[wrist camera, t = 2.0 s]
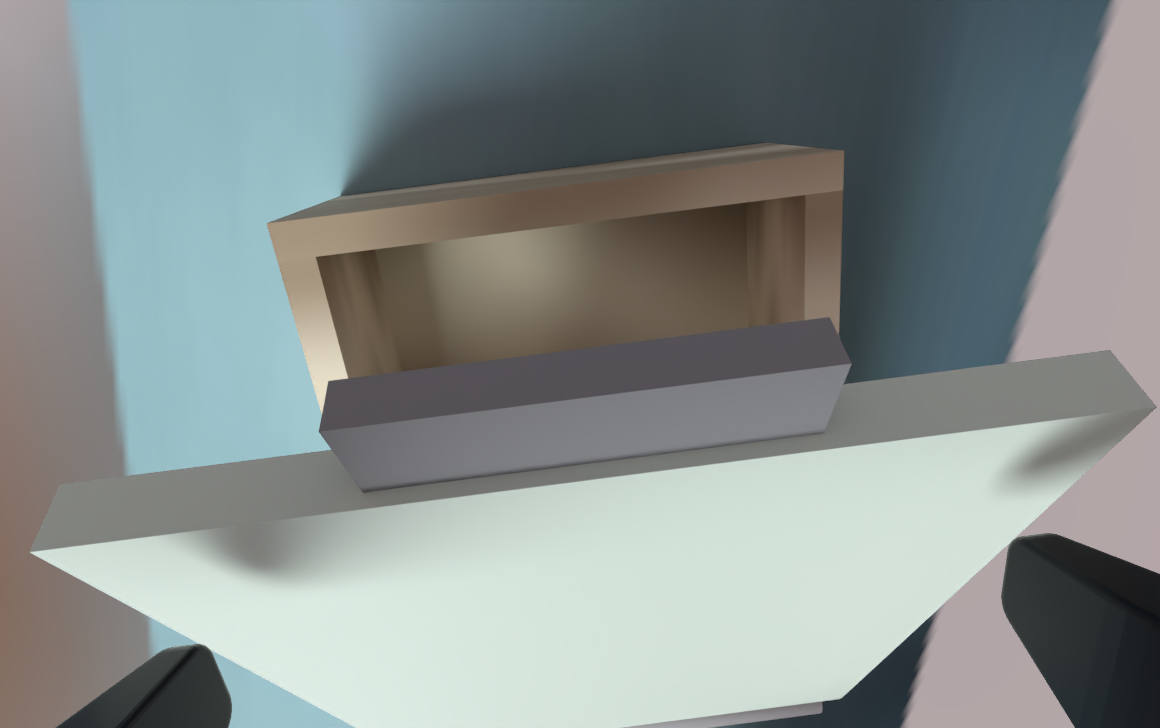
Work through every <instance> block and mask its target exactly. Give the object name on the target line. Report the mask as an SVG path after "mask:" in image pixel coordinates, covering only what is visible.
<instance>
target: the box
mask: <svg viewBox="0 0 1160 728" xmlns="http://www.w3.org/2000/svg"><path fill="white" fill-rule="evenodd" d="M843 180H844V150H834V149H824V148H814V147H805V146H795V145H785V144H775V143H760V144H752V145H744V146H736V147H728V148H720V149H712V150H704V151H696V152H688V153H680V154H673V155H665V156H657V157H649V158H641V159H633V160H625V161H617V162H609V163H601V164H593V165H585V166H577V167H569V168H561V169H553V170H546V171H538V172H530V173H522V174H514V175H506V176H498V177H490V178H482V179H474V180H466V181H458V182H450V183H442V184H434V185H426V186H419V187H411V188H403V189H395V190H387V191H379V192H371V193H363V194H355V195H347V196H339V197H337V198H334V199H331V200H329V201H326V202H323V203H320V204H318V205H315V206H312V207H310V208H307V209H304V210H302V211H299V212H296V213H293V214H291V215H288V216H285V217H283V218H280V219H277V220H275V221H272V222H269V223H267V226H268V230H269V233H270V237H271V240H272V244H273V247H274V251H275V254H276V257H277V261H278V264H279V268H280V271H281V275H282V278H283V282H284V285H285V289H286V292H287V295H288V299H289V302H290V306H291V309H292V313H293V316H294V320H295V323H296V327H297V330H298V334H299V337H300V340H301V344H302V347H303V351H304V354H305V358H306V361H307V365H308V368H309V372H310V375H311V378H312V382H313V385H314V389H315V392H316V396H317V399H318V403H319V406H320V410H321V413H323V407H324V402H325V396H326V391H327V385H328V381H332V380H340V379H348V378H356V377H364V376H371V375H379V374H387V373H395V372H403V371H411V370H418V369H426V368H434V367H442V366H450V365H458V364H465V363H473V362H481V361H489V360H497V359H505V358H513V357H520V356H528V355H536V354H544V353H552V352H560V351H567V350H575V349H583V348H591V347H599V346H607V345H614V344H622V343H630V342H638V341H646V340H654V339H661V338H669V337H677V336H685V335H693V334H701V333H709V332H716V331H724V330H732V329H740V328H748V327H756V326H763V325H771V324H779V323H787V322H795V321H803V320H810V319H818V318H826V317H830V319H831V321H832V323H833V325H834V327H835V329H836V331H837V333H838V336H839V317H840V283H841V249H842V215H843Z"/></svg>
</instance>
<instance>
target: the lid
mask: <svg viewBox="0 0 1160 728" xmlns="http://www.w3.org/2000/svg"><path fill="white" fill-rule="evenodd" d="M851 365H852V363H851V361H850V359H849V356H848V354H847V352H846V350H845V348H844V346H843V344H842V342H841V340H840V338H839V336H838V333H837V331H836V329H835V327H834V325H833V323H832V321H831V319H830V317H826V318H818V319H810V320H803V321H795V322H787V323H779V324H771V325H763V326H756V327H748V328H740V329H732V330H724V331H716V332H709V333H701V334H693V335H685V336H677V337H669V338H661V339H654V340H646V341H638V342H630V343H622V344H614V345H607V346H599V347H591V348H583V349H575V350H567V351H560V352H552V353H544V354H536V355H528V356H520V357H513V358H505V359H497V360H489V361H481V362H473V363H465V364H458V365H450V366H442V367H434V368H426V369H418V370H411V371H403V372H395V373H387V374H379V375H371V376H364V377H356V378H348V379H340V380H332V381H328V385H327V391H326V396H325V402H324V407H323V413H322V418H321V423H320V429H319V433H320V434H321V435H322V437H323V438H324V440H325V441H326V442H327V444H328V445H329V447H330V448H331V449H332V450H327V451H319V452H311V453H303V454H295V455H288V456H280V457H272V458H264V459H256V460H249V461H241V462H233V463H225V464H217V465H209V466H202V467H194V468H186V469H178V470H170V471H163V472H155V473H147V474H139V475H131V476H124V477H116V478H108V479H100V480H93V481H85V482H77V483H69V484H62V485H60V487H59V489H58V491H57V493H56V495H55V498H54V500H53V502H52V504H51V506H50V509H49V511H48V513H47V515H46V517H45V520H44V522H43V524H42V526H41V528H40V530H39V533H38V535H37V537H36V539H35V541H34V543H33V546H32V548H31V550H30V553H32V554H34V555H36V556H37V557H39V558H41V559H43V560H45V561H47V562H49V563H50V564H52V565H54V566H56V567H58V568H60V569H62V570H63V571H66V572H67V573H69V574H71V575H73V576H75V577H76V578H78V579H80V580H82V581H84V582H86V583H88V584H90V585H91V586H93V587H95V588H97V589H99V590H101V591H103V592H104V593H106V594H108V595H110V596H112V597H114V598H116V599H118V600H119V601H121V602H123V603H125V604H127V605H129V606H130V607H132V608H134V609H136V610H138V611H140V612H142V613H143V614H145V615H147V616H149V617H151V618H153V619H155V620H156V621H158V622H160V623H162V624H164V625H166V626H168V627H169V628H171V629H173V630H175V631H177V632H179V633H181V634H182V635H184V636H186V637H188V638H190V639H192V640H194V641H195V642H197V643H199V644H202V645H205V646H207V647H208V648H209V649H210V650H212V651H214V652H216V653H218V654H220V655H222V656H223V657H225V658H227V659H229V660H231V661H233V662H235V663H236V664H238V665H240V666H242V667H244V668H246V669H248V670H249V671H251V672H253V673H255V674H257V675H259V676H261V677H262V678H264V679H266V680H268V681H270V682H272V683H274V684H275V685H277V686H279V687H281V688H283V689H285V690H287V691H288V692H290V693H292V694H294V695H296V696H298V697H300V698H301V699H303V700H305V701H307V702H309V703H311V704H313V705H314V706H316V707H318V708H320V709H322V710H324V711H326V712H327V713H329V714H331V715H333V716H335V717H337V718H339V719H341V720H342V721H344V722H346V723H348V724H350V725H352V726H354V727H355V728H713V727H720V726H728V725H736V724H743V723H751V722H759V721H766V720H774V719H781V718H789V717H797V716H804V715H812V714H820V713H822V709H823V707H822V701H829V700H836V699H841V698H842V697H843V696H845V695H846V694H847V693H848V692H849V691H850V690H851V689H852V688H853V687H854V686H855V685H856V684H858V683H859V682H860V681H861V680H862V679H863V678H864V677H865V676H866V675H867V674H868V673H869V672H871V671H872V670H873V669H874V668H875V667H876V666H877V665H878V664H879V663H880V662H881V661H882V660H884V659H885V658H886V657H887V656H888V655H889V654H890V653H891V652H892V651H893V650H894V649H895V648H896V647H898V646H899V645H900V644H901V643H902V642H903V641H904V640H905V639H906V638H907V637H908V636H909V635H911V634H912V633H913V632H914V631H915V630H916V629H917V628H918V627H919V626H920V625H921V624H922V623H924V622H925V621H926V620H927V619H928V618H929V617H930V616H931V615H932V614H933V613H934V612H935V611H937V610H938V609H939V608H940V607H941V606H942V605H943V604H944V603H945V602H946V601H947V600H948V599H950V597H952V596H953V595H954V594H955V593H956V592H957V591H958V590H959V589H960V588H961V587H963V586H964V585H965V584H966V583H967V582H968V581H969V580H970V579H971V578H972V577H973V576H974V575H975V574H977V573H978V572H979V571H980V570H981V569H982V568H983V567H984V566H985V565H986V564H987V563H988V562H990V561H991V560H992V559H993V558H994V557H995V556H996V555H997V554H998V553H999V552H1000V551H1001V550H1003V549H1004V548H1005V547H1006V546H1007V545H1008V544H1009V543H1010V542H1011V541H1012V540H1013V539H1015V538H1016V537H1017V536H1018V535H1019V534H1020V533H1021V532H1022V531H1023V530H1024V529H1025V528H1026V527H1027V526H1028V525H1030V524H1031V523H1032V522H1033V521H1034V520H1035V519H1036V518H1037V517H1038V516H1039V515H1040V514H1041V513H1043V512H1044V511H1045V510H1046V509H1047V508H1048V507H1049V506H1050V505H1051V504H1052V503H1054V502H1055V500H1057V499H1058V498H1059V497H1060V496H1061V495H1062V494H1063V493H1064V492H1065V491H1066V490H1068V489H1069V487H1071V486H1072V485H1073V484H1074V483H1075V482H1076V481H1077V480H1078V479H1080V477H1082V476H1083V475H1084V474H1085V473H1086V472H1087V471H1088V470H1089V469H1090V468H1091V467H1092V466H1094V465H1095V464H1096V463H1097V462H1098V461H1099V460H1100V459H1101V458H1102V457H1103V456H1104V455H1105V454H1107V453H1108V452H1109V451H1110V450H1111V449H1112V448H1113V447H1114V446H1115V445H1116V444H1117V443H1118V442H1120V441H1121V440H1122V439H1123V438H1124V437H1125V436H1126V435H1127V434H1128V433H1129V432H1130V431H1131V430H1133V429H1134V427H1136V426H1137V425H1138V424H1139V423H1140V422H1141V421H1142V420H1143V419H1144V418H1145V417H1147V416H1148V415H1149V414H1150V413H1151V412H1152V411H1153V410H1154V409H1155V408H1156V406H1155V404H1153V402H1152V401H1151V400H1150V398H1149V397H1148V396H1147V395H1146V393H1145V392H1144V391H1143V390H1142V389H1141V387H1140V386H1139V385H1138V384H1137V383H1136V381H1135V380H1134V379H1133V378H1132V376H1131V375H1130V374H1129V373H1128V372H1127V370H1126V369H1125V368H1124V367H1123V365H1122V364H1121V363H1120V362H1119V361H1118V359H1117V358H1116V357H1115V356H1114V354H1113V353H1112V352H1111V351H1110V350H1107V351H1099V352H1091V353H1085V354H1076V355H1068V356H1061V357H1053V358H1045V359H1037V360H1029V361H1021V362H1013V363H1006V364H998V365H990V366H982V367H974V368H967V369H959V370H951V371H943V372H935V373H927V374H920V375H912V376H904V377H896V378H888V379H881V380H873V381H865V382H857V383H849V384H844V382H845V380H846V377H847V375H848V372H849V370H850V367H851Z"/></svg>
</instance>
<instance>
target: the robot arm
mask: <svg viewBox="0 0 1160 728" xmlns="http://www.w3.org/2000/svg"><path fill="white" fill-rule="evenodd" d="M1001 598H1002V605H1003V609H1004V612H1005V614H1006V617H1007V618H1008V620H1009V622H1010V624H1011V625H1012V627H1013V629H1014V630H1015V632H1016V633H1017V635H1018V637H1019V638H1020V640H1021V641H1022V643H1023V645H1024V646H1025V648H1026V649H1027V651H1028V653H1029V654H1030V656H1031V658H1032V659H1033V660H1034V662H1035V664H1036V666H1037V667H1038V669H1039V670H1040V672H1041V674H1042V675H1043V677H1044V678H1045V680H1046V682H1047V683H1048V685H1049V686H1050V688H1051V690H1052V691H1053V693H1054V695H1055V696H1056V698H1057V699H1058V701H1059V702H1060V704H1061V706H1062V707H1063V709H1064V710H1065V712H1066V714H1067V715H1068V717H1069V719H1070V720H1071V722H1072V723H1073V725H1074V727H1075V728H1160V574H1158V573H1156V572H1153V571H1151V570H1148V569H1145V568H1143V567H1140V566H1138V565H1135V564H1132V563H1130V562H1127V561H1124V560H1122V559H1120V558H1117V557H1114V556H1111V555H1109V554H1107V553H1104V552H1101V551H1099V550H1096V549H1094V548H1091V547H1089V546H1086V545H1083V544H1081V543H1078V542H1075V541H1073V540H1070V539H1068V538H1065V537H1062V536H1060V535H1057V534H1051V533H1046V534H1045V533H1044V534H1037V535H1029V536H1022V537H1018V538H1016V539H1014V540H1013V541H1012V542H1011V544H1010V545H1009V548H1008V553H1007V560H1006V567H1005V574H1004V580H1003V588H1002V595H1001ZM231 713H232V703H231V697H230V694H229V692H228V689H227V687H226V685H225V682H224V680H223V677H222V675H221V673H220V670H219V668H218V666H217V663H216V661H215V658H214V656H213V654H212V652H211V650H210V649H209V648H208V647H207V646H205V645H202V644H193V645H186V646H178V647H171V648H167V649H165V650H162V651H161V652H159V653H158V654H156V655H155V656H154V657H152V658H151V659H149V660H148V661H147V662H145V663H144V664H143V665H142V666H140V667H138V668H137V669H136V670H134V671H133V672H132V673H130V674H129V675H128V676H126V677H125V678H123V679H122V680H121V681H119V682H118V683H116V684H115V685H114V686H112V687H111V688H110V689H108V690H107V691H105V692H104V693H103V694H101V695H100V696H99V697H97V698H96V699H94V700H93V701H92V702H90V703H89V704H88V705H86V706H85V707H84V708H82V709H81V710H79V711H78V712H77V713H76V714H74V715H73V716H71V717H70V718H69V719H67V720H66V721H64V722H63V723H62V724H60V725H59V726H58V727H56V728H228V727H229V724H230V719H231Z"/></svg>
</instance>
